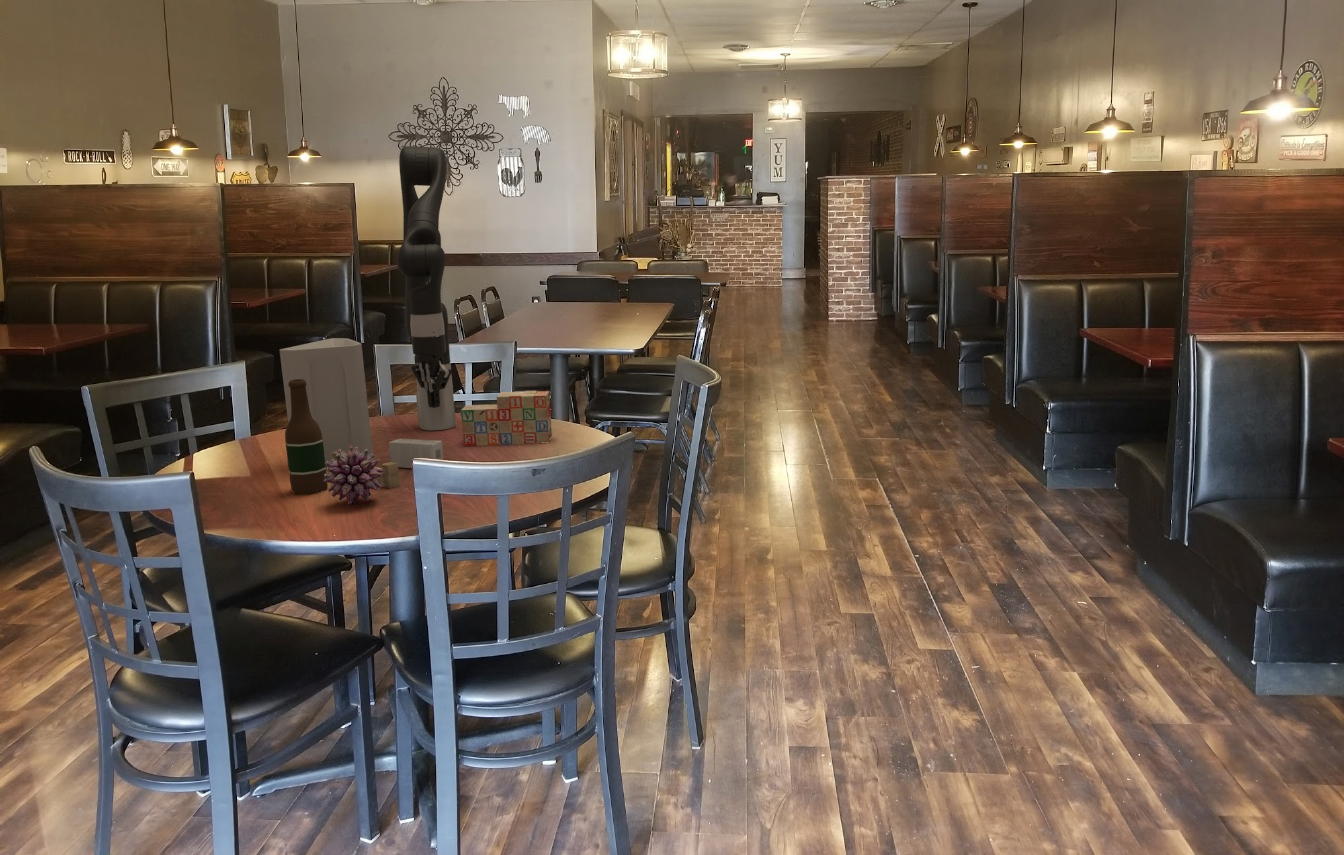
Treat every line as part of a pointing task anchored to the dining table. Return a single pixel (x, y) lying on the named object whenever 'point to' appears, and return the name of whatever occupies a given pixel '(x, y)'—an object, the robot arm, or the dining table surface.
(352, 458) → the flower
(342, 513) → the dining table surface
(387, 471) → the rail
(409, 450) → the skincare box
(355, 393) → the paper bag
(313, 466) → the beer bottle
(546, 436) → the stack of blocks
